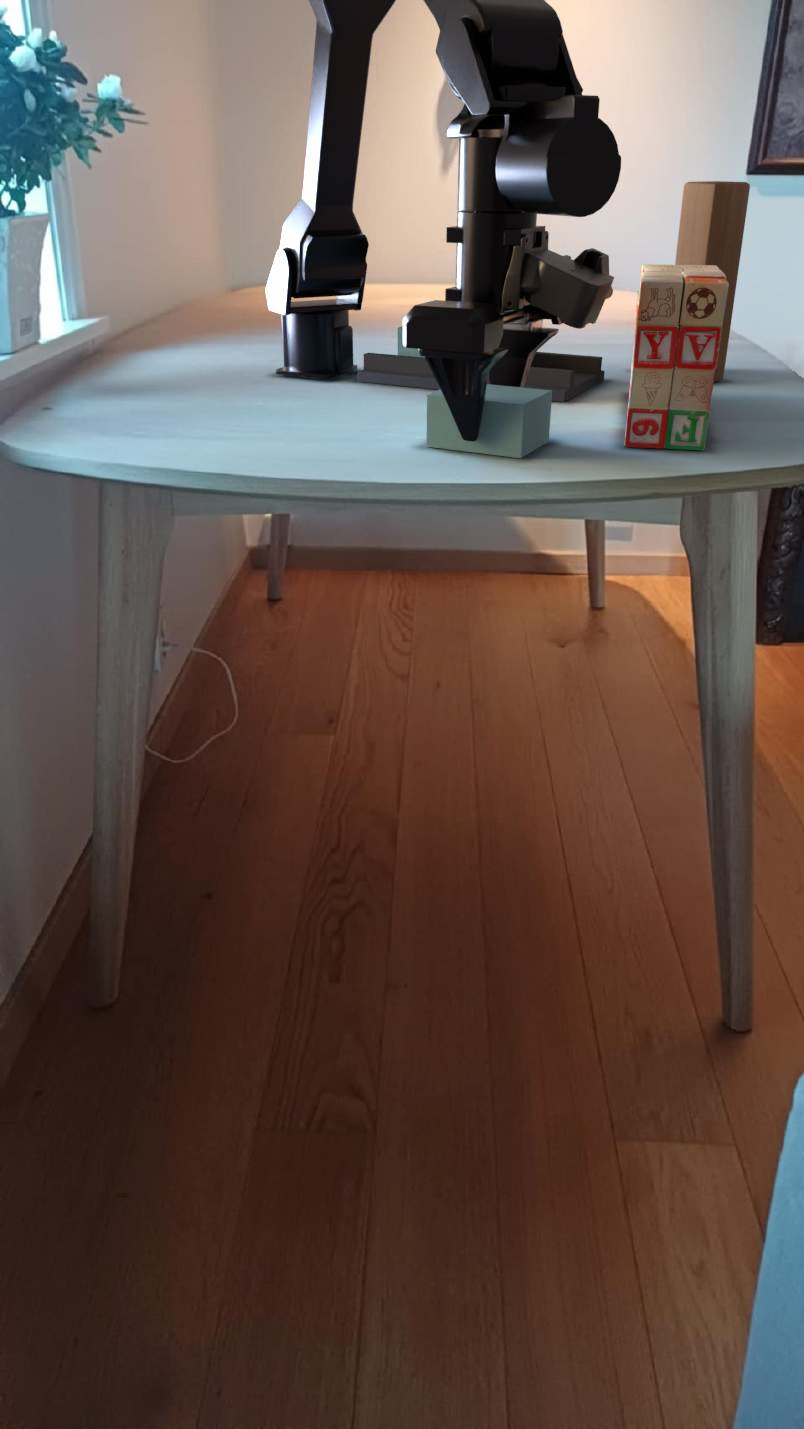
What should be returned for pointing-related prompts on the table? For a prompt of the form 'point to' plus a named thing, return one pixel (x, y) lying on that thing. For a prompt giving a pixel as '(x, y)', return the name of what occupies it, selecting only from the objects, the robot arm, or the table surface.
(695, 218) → the wooden block
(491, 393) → the grey-green rectangular block
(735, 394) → the table surface
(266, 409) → the table surface
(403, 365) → the pad jig
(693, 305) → the stack of blocks
